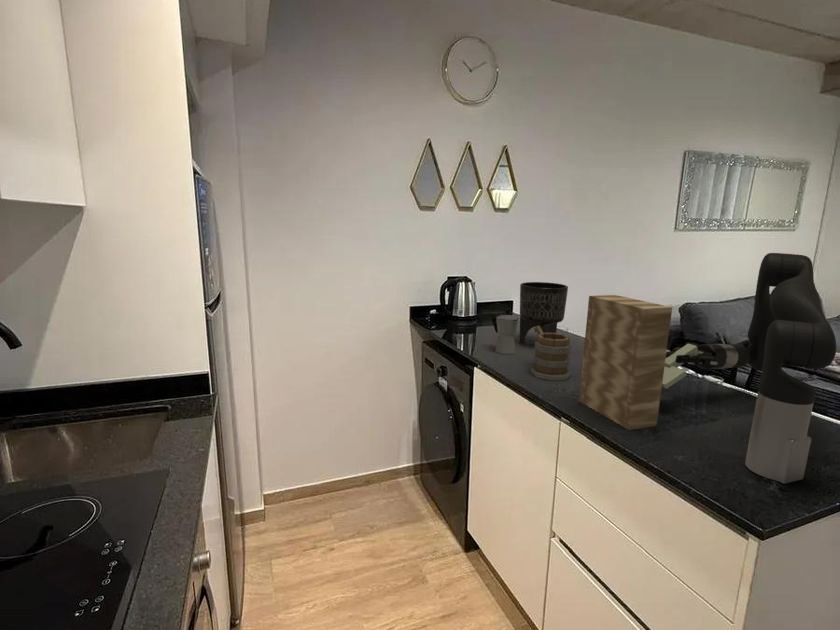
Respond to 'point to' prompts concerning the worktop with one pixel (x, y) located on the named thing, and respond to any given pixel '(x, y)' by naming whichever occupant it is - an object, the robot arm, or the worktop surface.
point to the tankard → (551, 356)
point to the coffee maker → (505, 332)
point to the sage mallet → (676, 366)
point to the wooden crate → (625, 359)
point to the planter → (541, 306)
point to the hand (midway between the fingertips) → (672, 357)
